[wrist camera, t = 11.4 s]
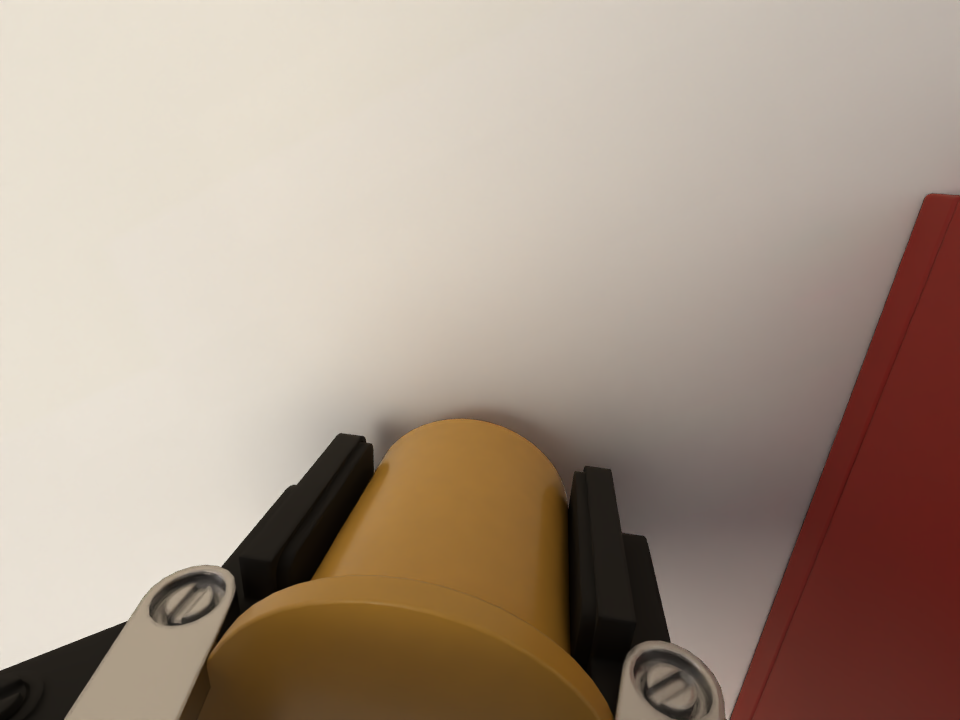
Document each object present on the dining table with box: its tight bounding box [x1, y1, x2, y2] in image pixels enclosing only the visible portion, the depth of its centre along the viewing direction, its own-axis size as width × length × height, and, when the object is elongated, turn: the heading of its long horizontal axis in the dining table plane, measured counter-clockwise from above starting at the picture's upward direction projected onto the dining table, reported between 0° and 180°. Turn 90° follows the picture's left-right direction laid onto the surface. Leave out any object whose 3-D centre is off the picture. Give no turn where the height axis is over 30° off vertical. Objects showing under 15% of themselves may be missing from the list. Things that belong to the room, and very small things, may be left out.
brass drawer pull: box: [197, 419, 614, 720], centre depth 9 cm, size 6×6×5 cm
